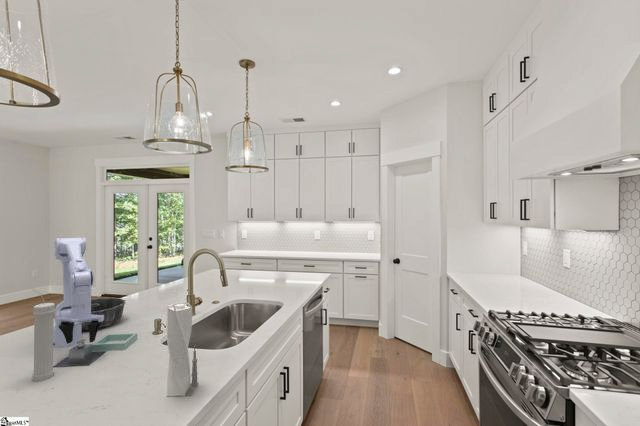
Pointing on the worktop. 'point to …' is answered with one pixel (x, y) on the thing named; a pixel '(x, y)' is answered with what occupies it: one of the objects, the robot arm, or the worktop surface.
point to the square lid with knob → (89, 361)
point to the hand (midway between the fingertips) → (81, 342)
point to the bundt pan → (105, 310)
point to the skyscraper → (180, 351)
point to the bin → (104, 346)
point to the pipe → (43, 341)
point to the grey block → (80, 352)
